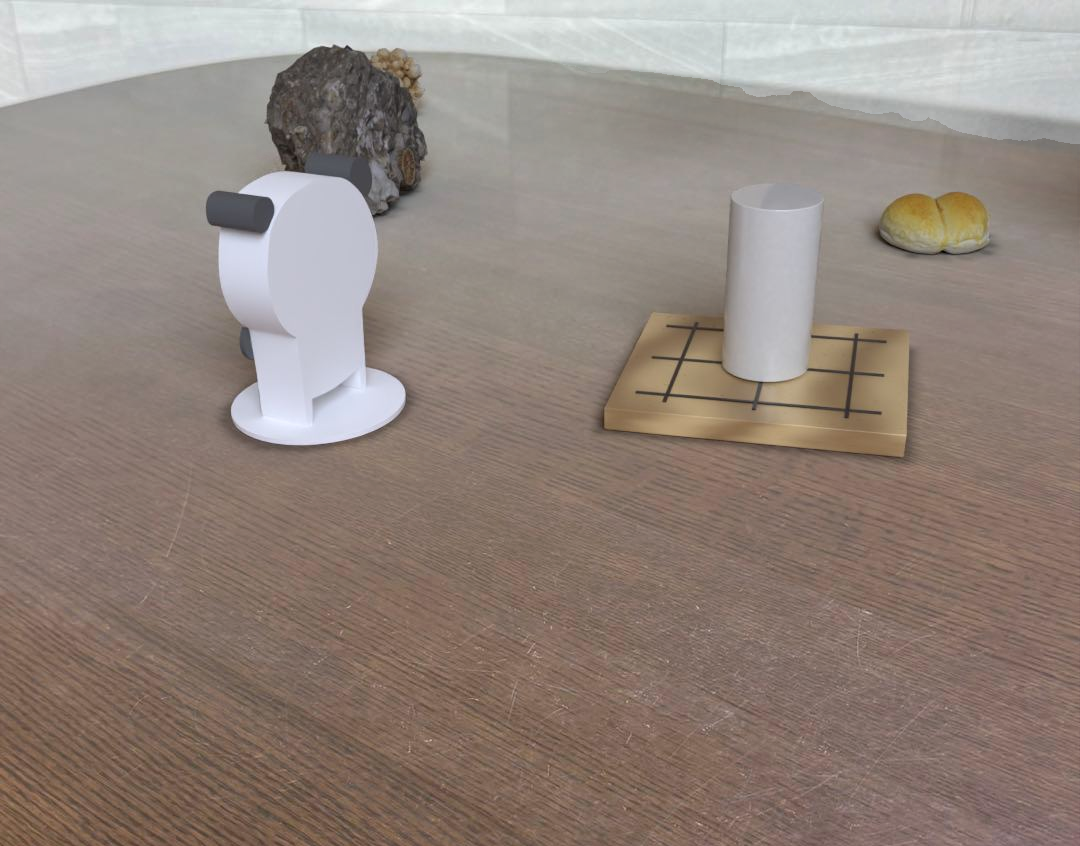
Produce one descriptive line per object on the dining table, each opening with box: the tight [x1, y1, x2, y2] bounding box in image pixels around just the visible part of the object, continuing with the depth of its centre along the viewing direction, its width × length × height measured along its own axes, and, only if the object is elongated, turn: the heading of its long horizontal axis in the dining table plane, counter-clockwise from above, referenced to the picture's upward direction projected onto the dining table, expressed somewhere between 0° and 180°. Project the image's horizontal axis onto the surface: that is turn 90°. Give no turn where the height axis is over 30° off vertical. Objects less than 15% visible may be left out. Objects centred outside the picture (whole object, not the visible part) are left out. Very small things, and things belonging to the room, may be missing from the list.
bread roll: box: [878, 191, 991, 255], centre depth 101 cm, size 8×9×4 cm
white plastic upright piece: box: [205, 152, 407, 446], centre depth 75 cm, size 12×11×15 cm
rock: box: [263, 43, 429, 216], centre depth 113 cm, size 18×14×15 cm
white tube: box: [722, 182, 826, 382], centre depth 75 cm, size 6×6×11 cm
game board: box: [603, 311, 911, 458], centre depth 79 cm, size 18×16×2 cm
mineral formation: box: [369, 47, 426, 111], centre depth 144 cm, size 8×13×15 cm
